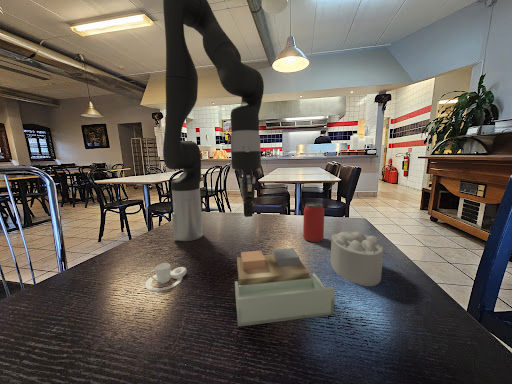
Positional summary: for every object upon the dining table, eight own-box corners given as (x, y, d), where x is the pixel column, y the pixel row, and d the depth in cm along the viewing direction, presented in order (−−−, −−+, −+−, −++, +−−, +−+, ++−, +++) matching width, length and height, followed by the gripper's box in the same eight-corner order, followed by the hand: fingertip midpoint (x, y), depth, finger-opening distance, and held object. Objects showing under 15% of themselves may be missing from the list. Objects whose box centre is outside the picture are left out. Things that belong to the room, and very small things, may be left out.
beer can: (324, 243, 69) (325, 206, 67) (303, 242, 71) (304, 206, 69) (322, 235, 76) (323, 202, 74) (303, 234, 77) (303, 201, 75)
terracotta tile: (243, 270, 48) (242, 261, 48) (241, 259, 53) (241, 252, 53) (265, 268, 49) (265, 260, 48) (261, 258, 54) (261, 250, 53)
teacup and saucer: (188, 271, 55) (187, 256, 54) (183, 290, 47) (182, 272, 46) (151, 274, 53) (149, 259, 53) (140, 295, 46) (137, 277, 45)
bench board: (240, 292, 45) (239, 279, 44) (237, 268, 55) (236, 257, 54) (308, 285, 47) (309, 272, 47) (294, 263, 57) (294, 252, 56)
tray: (237, 326, 36) (236, 299, 35) (235, 294, 44) (234, 272, 44) (333, 314, 38) (335, 288, 38) (314, 286, 47) (314, 264, 46)
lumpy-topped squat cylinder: (364, 258, 59) (367, 227, 58) (393, 286, 46) (397, 248, 45) (326, 258, 59) (327, 228, 58) (344, 286, 47) (346, 248, 45)
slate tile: (278, 267, 49) (278, 258, 49) (273, 257, 54) (273, 249, 54) (299, 265, 50) (299, 257, 50) (292, 255, 55) (292, 247, 54)
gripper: (230, 151, 61) (233, 211, 64) (232, 149, 48) (235, 224, 51) (256, 150, 62) (258, 209, 65) (265, 148, 49) (266, 222, 52)
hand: (248, 215), depth 58 cm, fingers closed
